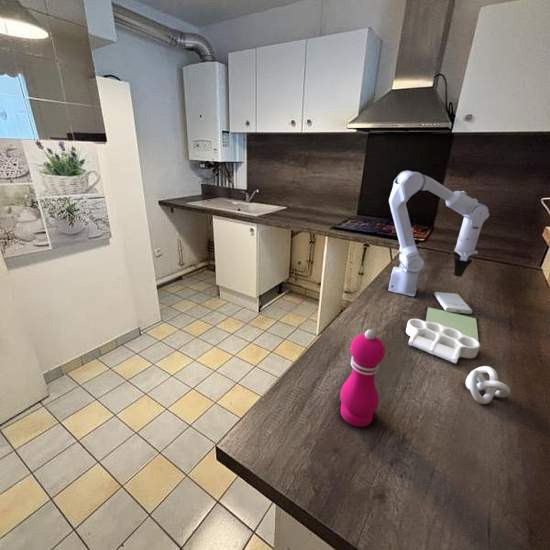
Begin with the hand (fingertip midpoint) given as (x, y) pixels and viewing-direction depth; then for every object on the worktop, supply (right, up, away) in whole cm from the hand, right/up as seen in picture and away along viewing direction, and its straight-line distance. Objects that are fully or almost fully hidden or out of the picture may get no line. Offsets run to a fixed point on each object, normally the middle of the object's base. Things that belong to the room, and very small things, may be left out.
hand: (457, 273), depth 107 cm
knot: (-23, -27, -43) cm, 56 cm away
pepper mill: (-51, -29, -49) cm, 76 cm away
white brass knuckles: (-22, -20, -26) cm, 40 cm away
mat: (-12, -16, -16) cm, 25 cm away
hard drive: (-5, -11, -5) cm, 13 cm away
